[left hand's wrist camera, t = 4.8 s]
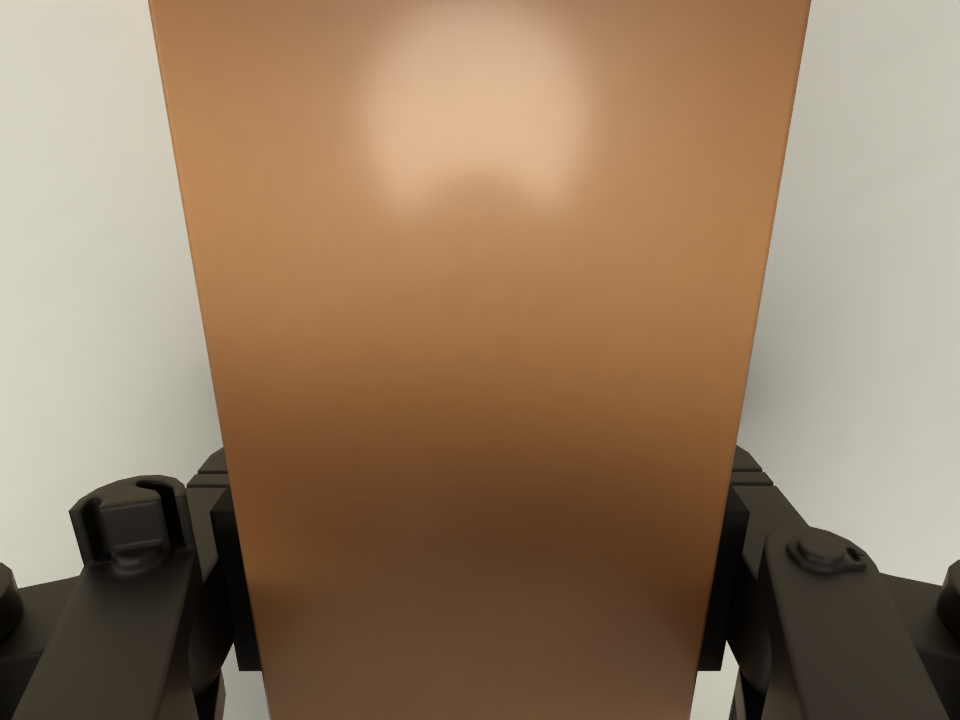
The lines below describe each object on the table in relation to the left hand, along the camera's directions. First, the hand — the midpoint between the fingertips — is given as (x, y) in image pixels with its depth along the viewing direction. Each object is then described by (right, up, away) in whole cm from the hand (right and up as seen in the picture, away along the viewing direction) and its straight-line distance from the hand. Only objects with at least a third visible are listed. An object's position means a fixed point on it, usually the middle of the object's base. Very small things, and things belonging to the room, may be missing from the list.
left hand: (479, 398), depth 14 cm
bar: (0, +30, -11) cm, 32 cm away
